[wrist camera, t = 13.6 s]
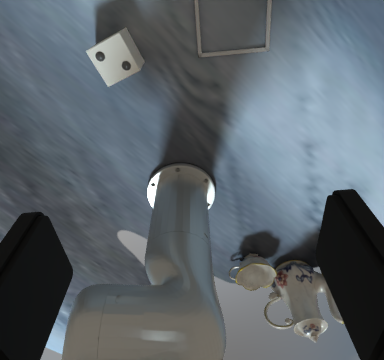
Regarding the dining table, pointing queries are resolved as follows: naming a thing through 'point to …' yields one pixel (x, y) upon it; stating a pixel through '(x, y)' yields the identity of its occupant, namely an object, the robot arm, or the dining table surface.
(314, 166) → the dining table surface
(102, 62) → the die
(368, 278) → the robot arm
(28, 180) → the dining table surface
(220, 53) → the game board
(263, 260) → the chinaware
